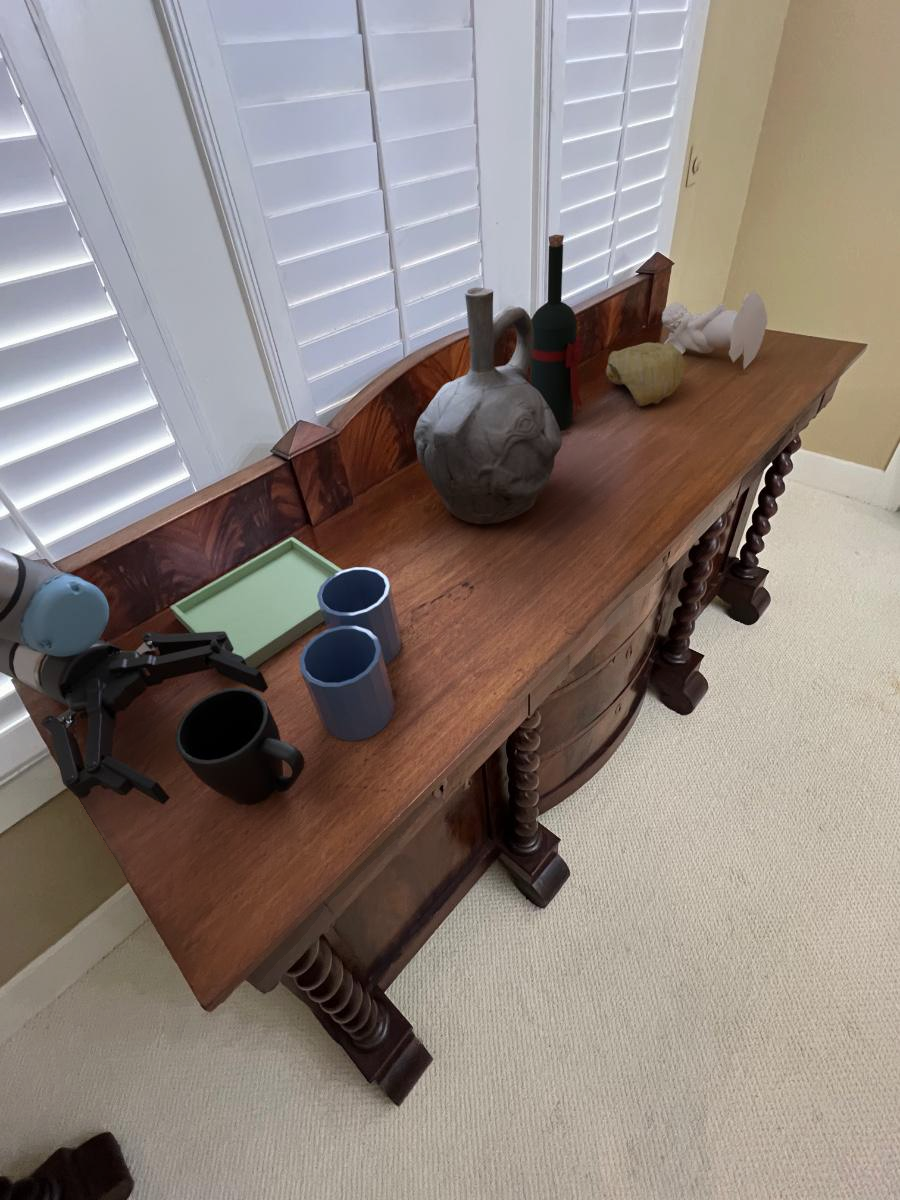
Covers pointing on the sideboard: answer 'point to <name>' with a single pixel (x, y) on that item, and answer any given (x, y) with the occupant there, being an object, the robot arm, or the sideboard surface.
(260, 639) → the tray
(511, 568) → the sideboard surface
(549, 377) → the wine bottle
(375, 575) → the blue cup back
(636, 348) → the seashell
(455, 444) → the vessel
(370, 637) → the blue cup front
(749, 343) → the angel figurine
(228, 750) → the mug
